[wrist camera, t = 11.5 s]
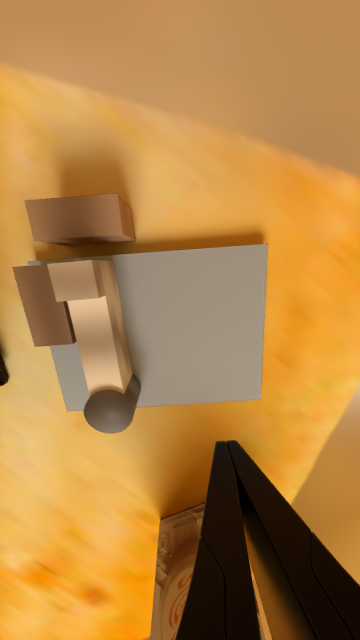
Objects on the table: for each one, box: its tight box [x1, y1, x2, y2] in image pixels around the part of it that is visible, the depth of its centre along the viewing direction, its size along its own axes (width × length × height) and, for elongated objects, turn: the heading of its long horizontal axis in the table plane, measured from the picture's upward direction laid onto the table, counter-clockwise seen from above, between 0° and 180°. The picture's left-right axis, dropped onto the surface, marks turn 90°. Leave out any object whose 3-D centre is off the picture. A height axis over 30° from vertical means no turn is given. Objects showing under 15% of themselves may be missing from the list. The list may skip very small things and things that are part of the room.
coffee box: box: [150, 503, 265, 640], centre depth 19 cm, size 9×6×16 cm
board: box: [28, 244, 268, 412], centre depth 19 cm, size 20×15×1 cm
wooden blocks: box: [12, 193, 135, 347], centre depth 16 cm, size 8×10×4 cm
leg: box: [47, 260, 141, 433], centre depth 16 cm, size 14×4×4 cm, turn 5°
